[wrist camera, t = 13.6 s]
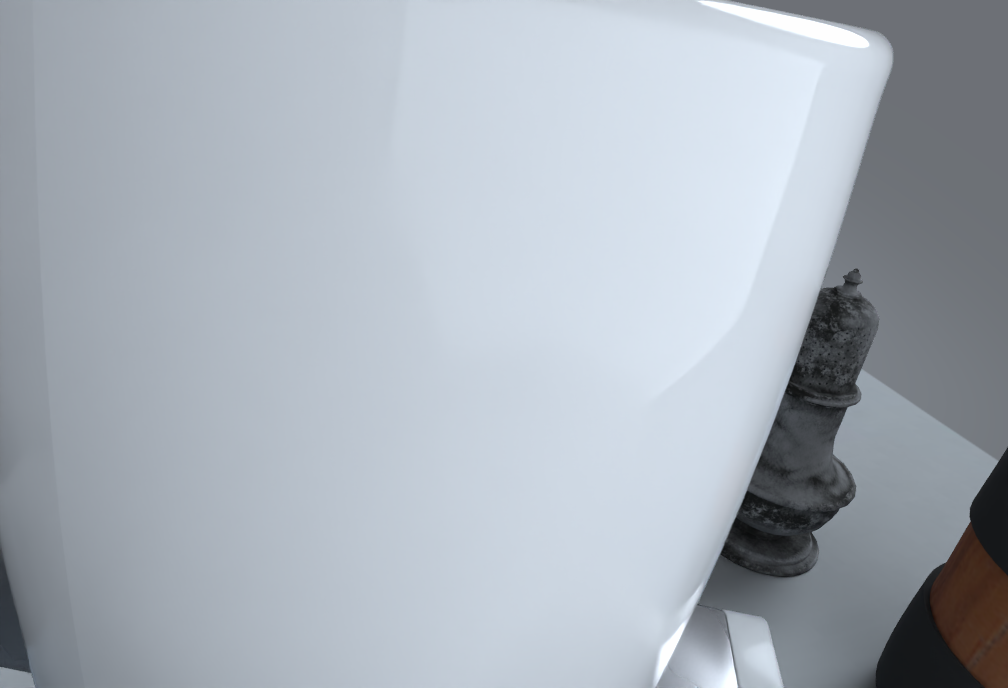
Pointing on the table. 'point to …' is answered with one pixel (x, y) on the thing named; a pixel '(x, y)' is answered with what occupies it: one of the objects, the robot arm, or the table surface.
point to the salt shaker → (806, 441)
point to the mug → (959, 608)
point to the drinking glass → (400, 326)
